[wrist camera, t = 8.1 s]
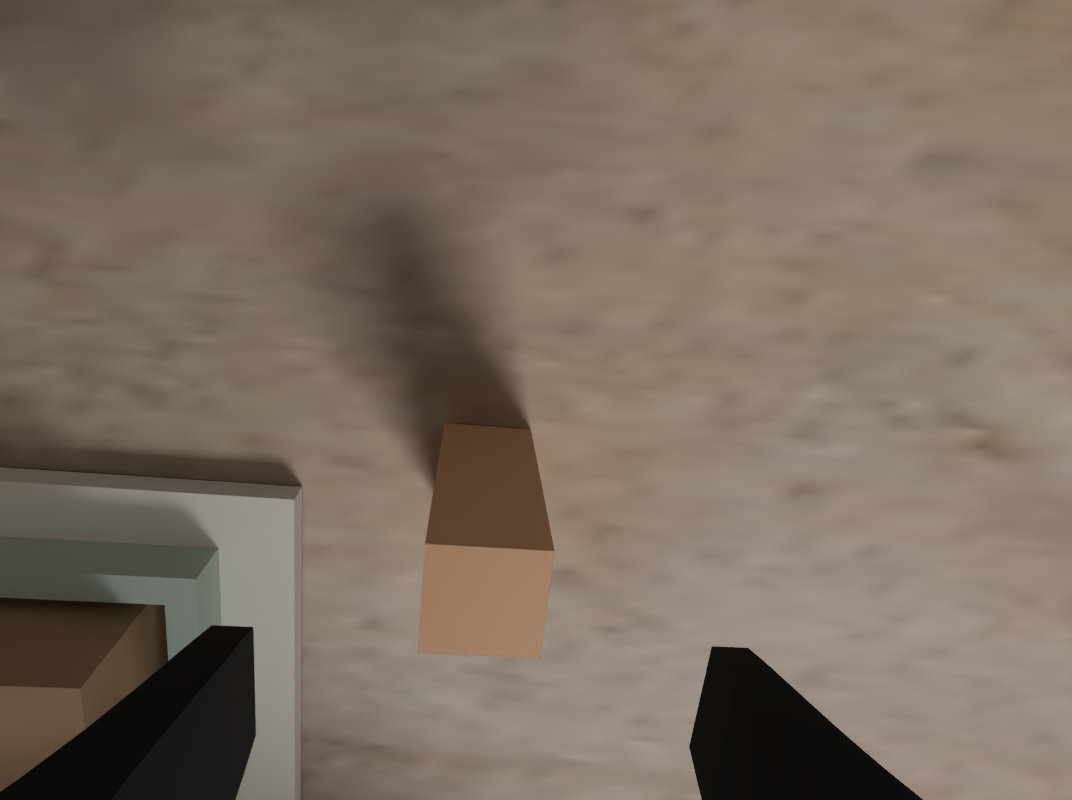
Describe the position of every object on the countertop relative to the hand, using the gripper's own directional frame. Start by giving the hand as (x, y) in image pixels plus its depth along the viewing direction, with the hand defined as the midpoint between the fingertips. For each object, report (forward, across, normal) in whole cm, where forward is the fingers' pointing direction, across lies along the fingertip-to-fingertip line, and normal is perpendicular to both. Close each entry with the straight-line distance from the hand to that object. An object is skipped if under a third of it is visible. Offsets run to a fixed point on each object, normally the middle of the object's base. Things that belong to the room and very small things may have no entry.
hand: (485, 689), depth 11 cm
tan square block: (+9, 0, 0) cm, 9 cm away
